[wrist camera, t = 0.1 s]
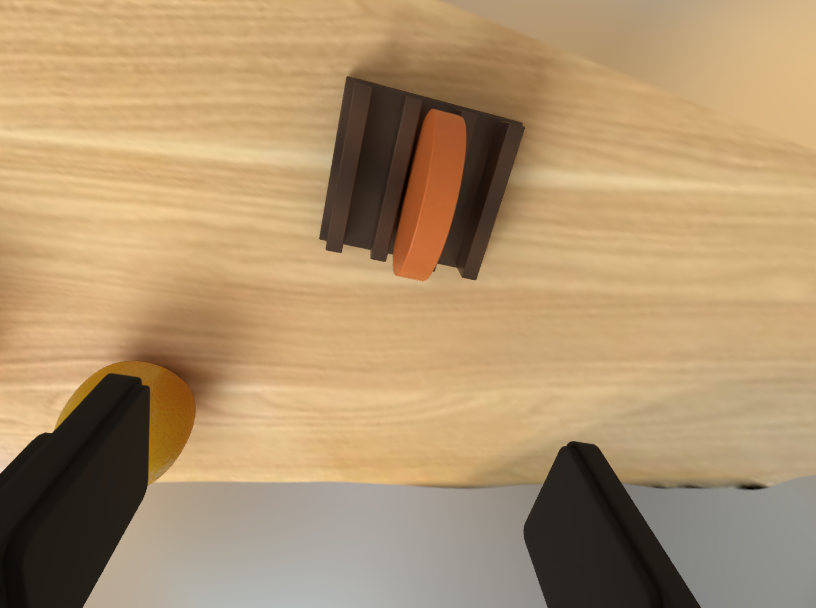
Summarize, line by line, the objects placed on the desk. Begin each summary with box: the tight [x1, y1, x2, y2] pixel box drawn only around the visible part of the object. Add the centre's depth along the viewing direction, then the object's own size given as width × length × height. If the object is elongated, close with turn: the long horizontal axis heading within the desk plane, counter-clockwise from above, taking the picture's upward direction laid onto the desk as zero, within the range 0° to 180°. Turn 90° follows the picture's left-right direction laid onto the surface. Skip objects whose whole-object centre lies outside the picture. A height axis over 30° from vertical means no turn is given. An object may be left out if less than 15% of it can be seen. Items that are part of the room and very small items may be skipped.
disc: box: [393, 109, 466, 281], centre depth 26 cm, size 9×2×9 cm, turn 166°
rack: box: [319, 76, 525, 280], centre depth 29 cm, size 10×11×4 cm
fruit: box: [54, 361, 196, 485], centre depth 32 cm, size 9×8×8 cm
